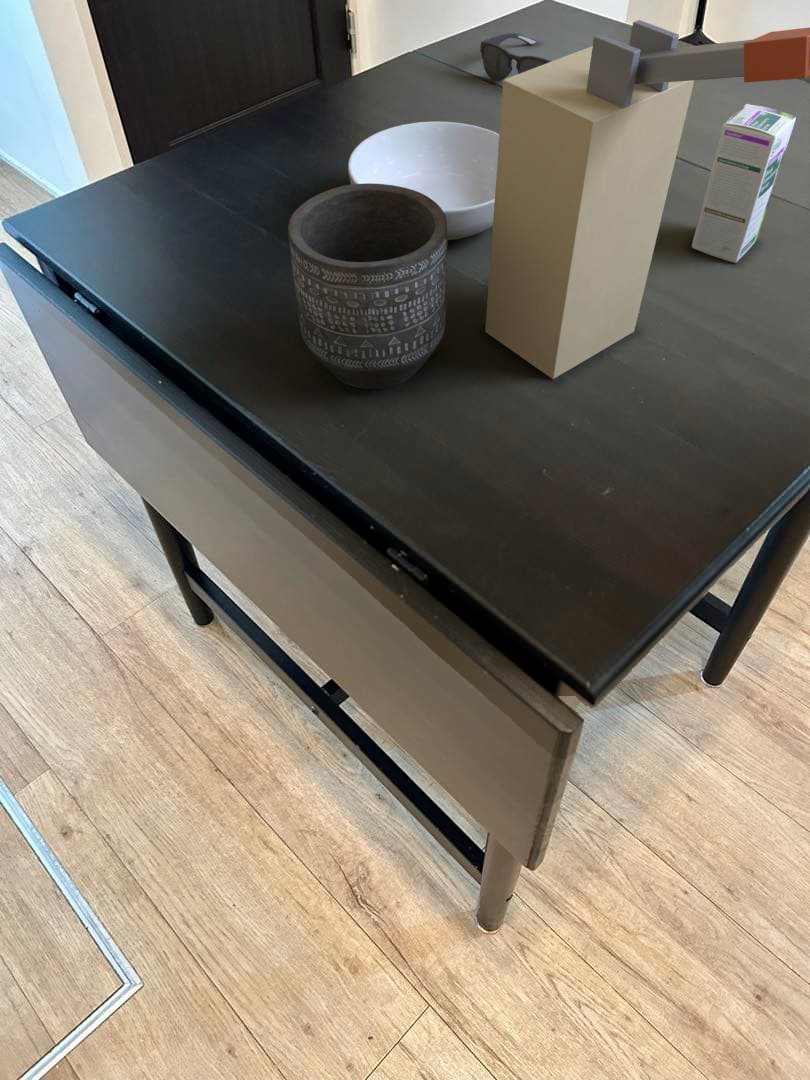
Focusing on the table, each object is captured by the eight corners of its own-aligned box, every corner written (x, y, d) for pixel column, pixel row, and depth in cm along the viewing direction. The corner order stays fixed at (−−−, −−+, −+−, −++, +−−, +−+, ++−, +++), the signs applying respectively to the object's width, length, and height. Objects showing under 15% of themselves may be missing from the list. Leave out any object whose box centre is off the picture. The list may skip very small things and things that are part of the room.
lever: (831, 66, 55) (834, 24, 53) (804, 78, 54) (806, 36, 52) (655, 79, 65) (653, 45, 64) (629, 90, 64) (627, 55, 63)
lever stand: (634, 331, 87) (708, 23, 65) (553, 379, 82) (602, 65, 60) (565, 289, 92) (611, -12, 70) (485, 331, 87) (506, 25, 65)
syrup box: (736, 264, 94) (779, 136, 83) (688, 248, 97) (723, 120, 85) (756, 242, 97) (800, 115, 86) (709, 226, 100) (745, 100, 88)
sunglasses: (465, 74, 128) (469, 38, 124) (526, 53, 137) (531, 18, 134) (555, 103, 121) (562, 65, 117) (613, 79, 130) (621, 43, 127)
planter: (368, 300, 91) (360, 167, 80) (472, 350, 85) (480, 214, 74) (276, 365, 84) (253, 230, 73) (383, 425, 79) (376, 288, 67)
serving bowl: (345, 264, 96) (340, 208, 90) (357, 174, 109) (354, 120, 104) (526, 265, 95) (533, 208, 90) (516, 174, 108) (521, 120, 103)
